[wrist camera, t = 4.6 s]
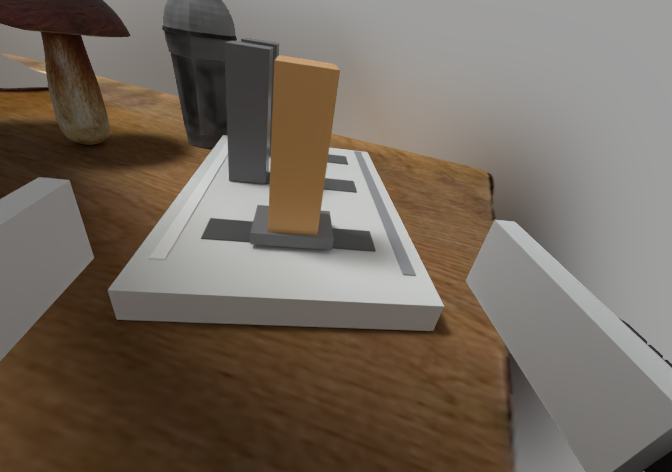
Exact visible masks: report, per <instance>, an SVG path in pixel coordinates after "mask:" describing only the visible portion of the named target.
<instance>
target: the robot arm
mask: <svg viewBox="0 0 672 472" xmlns="http://www.w3.org/2000/svg"><path fill="white" fill-rule="evenodd" d="M93 259H94V256H93V253H92V249H91V246H90V243H89V240H88V237H87V234H86V231H85V227H84V224H83V221H82V218H81V215H80V212H79V208H78V205H77V202H76V199H75V196H74V193H73V190H72V186H71V183H70V180H64V179H54V178H43V177H38V178H37V179H35V180H33V181H31V182H30V183H28V184H26V185H24V186H23V187H21V188H19V189H17V190H15V191H14V192H12V193H10V194H8V195H7V196H5V197H3V198H1V199H0V361H1V360H2V359H3V358H4V357H5V356H6V354H7V353H8V352H9V351H10V350H11V349H12V348H13V347H14V346H15V345H16V343H17V342H18V341H19V340H20V339H21V338H22V337H23V336H24V335H25V334H26V332H27V331H28V330H29V329H30V328H31V327H32V326H33V325H34V324H35V323H36V321H37V320H38V319H39V318H40V317H41V316H42V315H43V314H44V313H45V312H46V310H47V309H48V308H49V307H50V306H51V305H52V304H53V303H54V302H55V301H56V299H57V298H58V297H59V296H60V295H61V294H62V293H63V292H64V291H65V290H66V288H67V287H68V286H69V285H70V284H71V283H72V282H73V281H74V280H75V279H76V278H77V276H78V275H79V274H80V273H81V272H82V271H83V270H84V269H85V268H86V267H87V265H88V264H89V263H90V262H91V261H92V260H93ZM466 283H467V284H468V286H469V287H470V289H471V290H472V292H473V294H474V295H475V297H476V298H477V300H478V302H479V303H480V305H481V306H482V308H483V310H484V311H485V313H486V314H487V316H488V317H489V319H490V321H491V322H492V324H493V325H494V327H495V329H496V330H497V332H498V333H499V335H500V336H501V338H502V340H503V341H504V343H505V344H506V346H507V348H508V349H509V351H510V352H511V354H512V355H513V357H514V359H515V360H516V362H517V363H518V365H519V367H520V368H521V370H522V371H523V373H524V375H525V376H526V377H527V379H528V381H529V382H530V384H531V386H532V387H533V389H534V390H535V392H536V394H537V395H538V397H539V398H540V400H541V401H542V403H543V404H544V406H545V408H546V409H547V411H548V412H549V414H550V416H551V417H552V419H553V420H554V422H555V424H556V425H557V427H558V428H559V430H560V431H561V433H562V435H563V436H564V438H565V439H566V441H567V443H568V444H569V446H570V447H571V449H572V451H573V452H574V454H575V455H576V457H577V459H578V460H579V461H580V463H581V465H582V466H583V468H584V470H585V471H586V472H643V471H645V472H672V364H671V363H670V362H669V361H668V360H664V359H663V358H662V357H663V356H662V355H661V354H660V353H659V352H658V351H657V350H656V349H655V348H653V347H652V346H651V345H647V341H646V340H645V339H644V338H643V337H642V336H640V335H639V334H638V333H637V332H636V331H635V330H634V329H633V328H632V327H631V326H630V325H628V324H627V323H626V322H624V321H622V320H621V319H619V318H618V317H617V316H616V315H614V314H613V313H612V312H611V311H610V310H609V309H608V308H607V307H606V306H605V305H604V304H603V303H602V302H601V301H599V300H598V299H597V298H596V297H595V296H594V295H593V294H592V293H591V292H590V291H589V290H588V289H587V288H585V287H584V286H583V285H582V284H581V283H580V282H579V281H578V280H577V279H576V278H575V277H574V276H573V275H571V274H570V273H569V272H568V271H567V270H566V269H565V268H564V267H563V266H562V265H561V264H560V263H559V262H557V260H555V259H554V258H553V257H552V256H551V255H550V254H549V253H548V252H547V251H546V250H545V249H544V248H542V247H541V246H540V245H539V244H538V243H537V242H536V241H535V240H534V239H533V238H532V237H531V236H530V235H529V234H527V233H526V232H525V231H524V230H523V229H522V228H521V227H520V226H519V225H518V224H517V223H516V222H513V221H502V220H494V222H493V224H492V226H491V228H490V230H489V233H488V235H487V237H486V239H485V241H484V243H483V245H482V247H481V250H480V252H479V254H478V256H477V258H476V260H475V262H474V264H473V267H472V269H471V271H470V273H469V275H468V277H467V279H466Z"/></svg>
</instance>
